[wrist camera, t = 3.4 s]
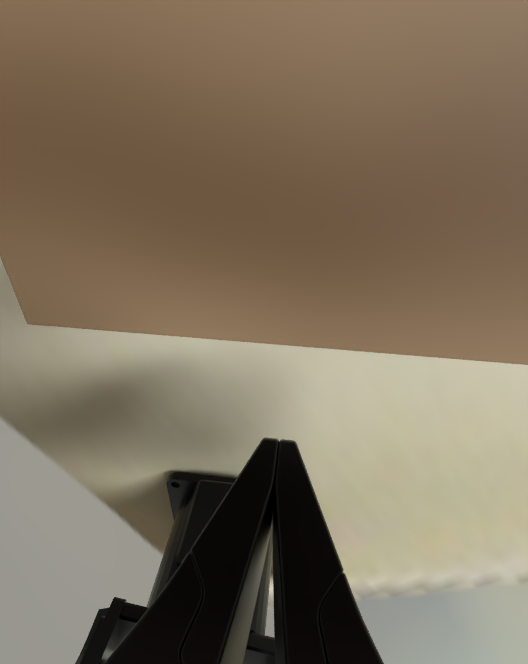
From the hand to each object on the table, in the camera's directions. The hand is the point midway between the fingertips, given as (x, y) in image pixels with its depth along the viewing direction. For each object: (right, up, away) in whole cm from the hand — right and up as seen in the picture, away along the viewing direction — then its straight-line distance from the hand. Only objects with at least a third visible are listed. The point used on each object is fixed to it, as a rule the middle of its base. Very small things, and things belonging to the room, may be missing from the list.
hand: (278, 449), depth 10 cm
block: (+1, +9, +1) cm, 9 cm away
